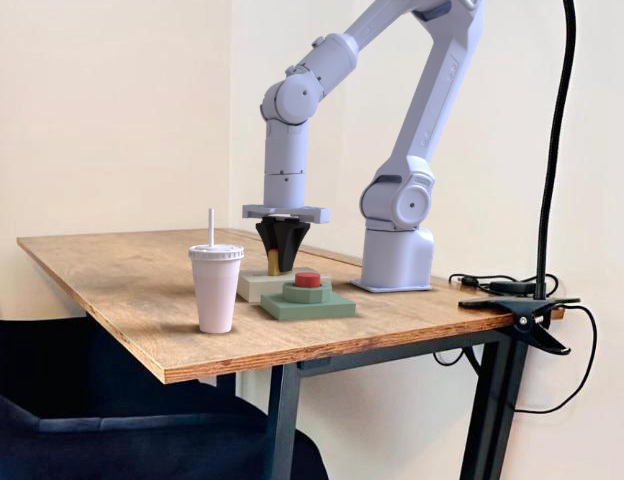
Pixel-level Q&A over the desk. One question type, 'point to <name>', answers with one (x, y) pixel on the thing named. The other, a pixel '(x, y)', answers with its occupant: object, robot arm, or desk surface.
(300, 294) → the green square plate
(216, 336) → the desk surface
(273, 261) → the thumbturn
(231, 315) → the smoothie
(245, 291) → the plate
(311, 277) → the lock button
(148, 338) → the desk surface
